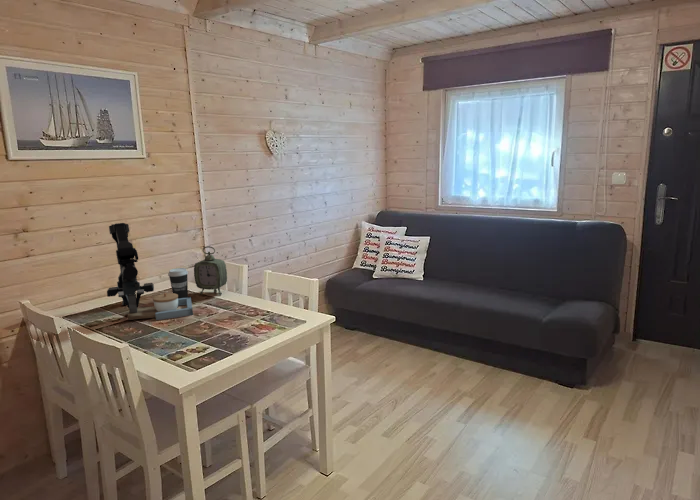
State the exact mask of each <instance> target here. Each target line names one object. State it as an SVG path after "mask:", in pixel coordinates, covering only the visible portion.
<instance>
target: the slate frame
mask: <svg viewBox="0 0 700 500" xmlns="http://www.w3.org/2000/svg"><path fill="white" fill-rule="evenodd" d="M181 306H186V307H185V308H177V309H176V310H170V311H163V312H156V313H155V315H156V317H155V321H161V320H168V319H174V318H175V319H176V318H181V317H188V316H189V317H190V316H194V312H193V311H194V310H193V304H192V297H191V296H188V297H187V298H180V299H178V307H181Z"/></svg>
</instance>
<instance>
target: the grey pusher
mask: <svg viewBox="0 0 700 500" xmlns="http://www.w3.org/2000/svg"><path fill="white" fill-rule="evenodd" d="M128 300H129V308H128V313H127V321H131V320H142V319H153V318H156V315H155V313H156V312H158V311H157V310H156V309H155V306H145V307H138V308H137V293H135V294H129V295H128Z"/></svg>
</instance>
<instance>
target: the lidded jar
mask: <svg viewBox="0 0 700 500" xmlns="http://www.w3.org/2000/svg"><path fill="white" fill-rule="evenodd" d="M152 301H153V305H154V306H153V307H155V309H156V310H157V311H158V312H163V311H170V310H177V309H178V307H179V306H178V295H177V294H175V293H173V292H170V293H169V292H167V293H166V292H164V293H162V294H158V295H156V296H153V298H152Z"/></svg>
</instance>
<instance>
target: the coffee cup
mask: <svg viewBox="0 0 700 500" xmlns="http://www.w3.org/2000/svg"><path fill="white" fill-rule="evenodd" d="M188 274H189V271H188V270H187V268H184V267H178V268H177V267H176V268H172V269H169V271H168V273H167V276H168V277H169V278H168V279H169V282H170V286H171V291H172V293H175V294H177V295H178V299H180V298H187V297H189V295H188V294H189V292H188V291H189V289H188V288H189V287H188V286H189V285H188V281H189V280H188Z"/></svg>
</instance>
